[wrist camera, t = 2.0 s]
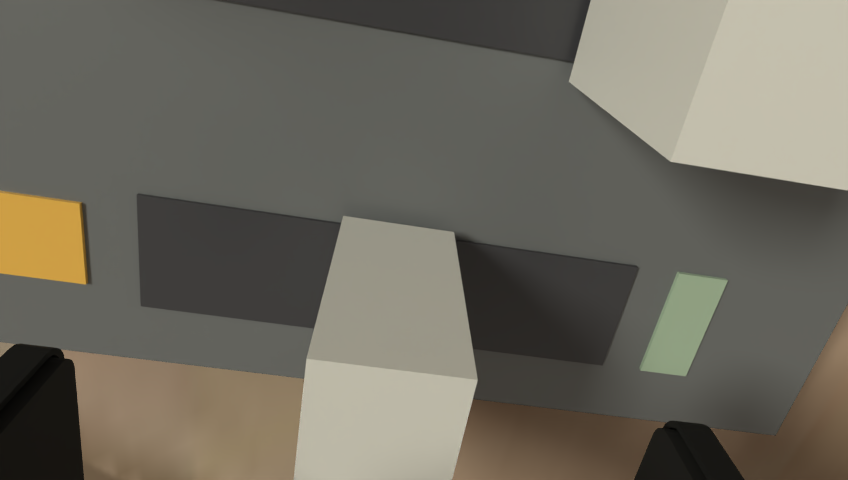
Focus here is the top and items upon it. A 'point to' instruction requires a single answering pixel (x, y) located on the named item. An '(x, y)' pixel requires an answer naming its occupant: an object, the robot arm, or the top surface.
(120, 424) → the top surface
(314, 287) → the breaker panel
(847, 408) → the top surface
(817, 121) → the block
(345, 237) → the block
